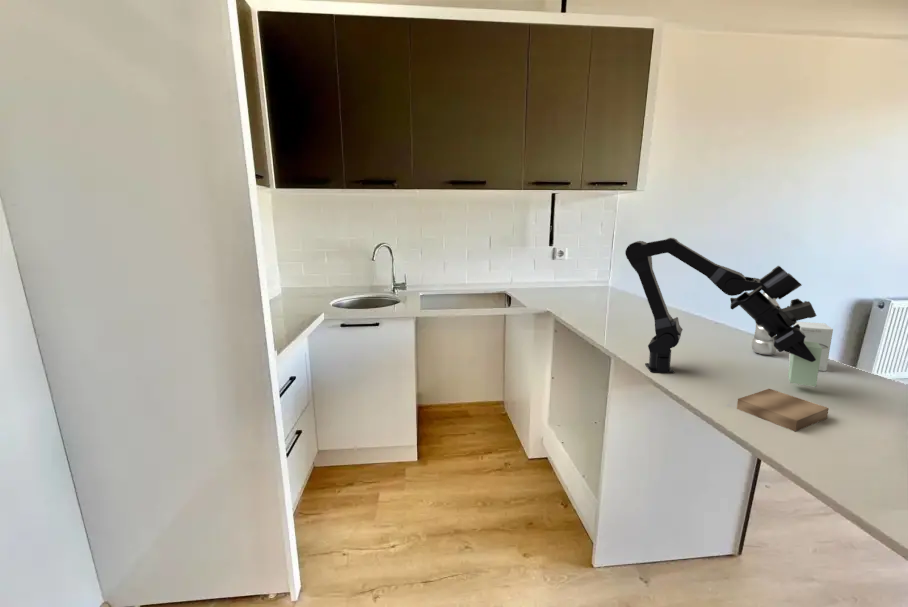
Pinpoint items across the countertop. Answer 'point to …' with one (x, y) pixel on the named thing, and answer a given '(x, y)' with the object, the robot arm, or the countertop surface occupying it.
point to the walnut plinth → (783, 409)
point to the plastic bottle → (763, 337)
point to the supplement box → (818, 339)
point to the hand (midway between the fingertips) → (812, 357)
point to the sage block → (805, 366)
